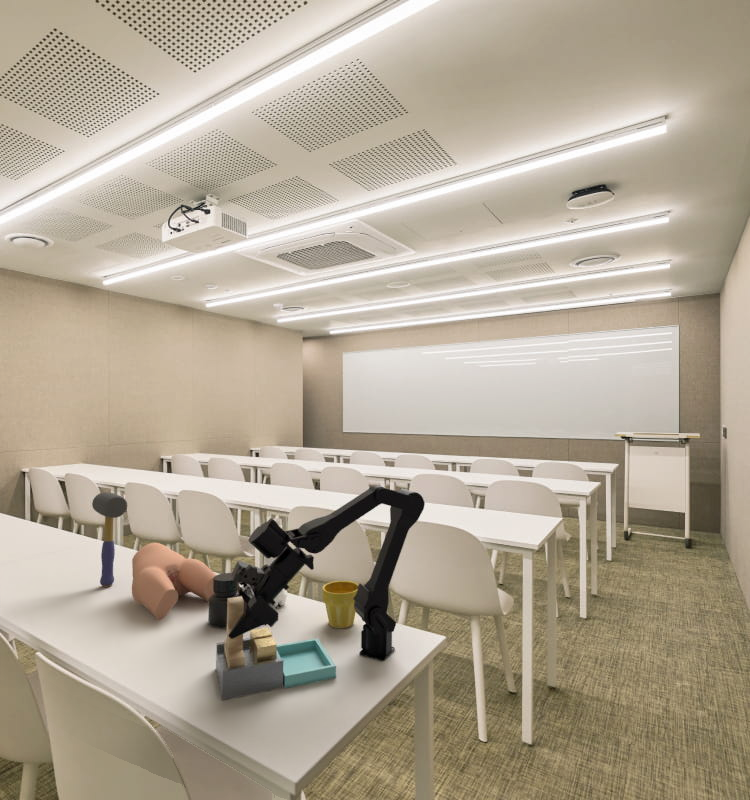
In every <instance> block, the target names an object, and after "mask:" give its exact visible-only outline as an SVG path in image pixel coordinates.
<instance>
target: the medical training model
mask: <svg viewBox="0 0 750 800" xmlns="http://www.w3.org/2000/svg"><path fill="white" fill-rule="evenodd" d="M131 562H132V563H131V564H132V567H131V568H132V583H131V596H132V598H133V600H134V601H135V602H136V603H137V604H139V605H142V606H144V607H145V608H146V609H147V610H148V611H149V612H150V613H152V615H154V616H155V618H156V619H157V620H162V619H164V618H165V617H166V616H167V615H168V614H169V613H170V611H171V610H172V609H173V608H174V606H175V605H176V604H177V602H178V599H179V596H180V597H181V595H182V596H184V595H186V594H188V593H191V594H194V595H195V596H198V597H199V598H201V599H203V600H204V601H206V602H208V603H209V598H210V597H211V596H212V595H213V593H214V592H213V578H214V577H215V576H216V575H217V574H216V573H214V572H213V570H211V569H210V567H208V566H207V565H206V564H205V563H204V562H202V561H201V560H199V559H195V558H189V557H188V558H185V557H184V556H183V555H182V554H180V553H179V552H177V551H174V550H172V549H171V548H169V547H168V546H166V545H164V544H162V543H159V542H151V543H148V544H145V545H143V546H142V547H141V548H140V549H139V550H138V551H136V553H135V554H134V555H133V557H132V559H131Z"/></svg>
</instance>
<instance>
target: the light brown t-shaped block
mask: <svg viewBox="0 0 750 800" xmlns="http://www.w3.org/2000/svg"><path fill="white" fill-rule="evenodd" d="M243 613H244V600H243V598H242V596H241V597H233V598H227V627H226V639H224V642H225V647H224V651H225V656H226V660H227V664H228V668H232V667H237V666H243V665H245V655H244V652H243V639H244V634H242V635H240V636H237V637H235V638H233V639H231V638H230V637H229V636H228V635H229V633H230V632H231V630H232V629H233V627H234V626H235V624H236V623H237V622H238V620H239V619H240V617H241V616H242V615H243Z"/></svg>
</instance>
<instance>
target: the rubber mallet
mask: <svg viewBox="0 0 750 800" xmlns="http://www.w3.org/2000/svg"><path fill="white" fill-rule="evenodd" d="M91 503H92V508H93V510H94V511H95V512H96V513H98V514H99V515H102V516H104V535H103V537H104V538H103V543H102V547H101V557H100V558H101V576H100V580H99V584H100V585H101V586H102V587H103V588H108V587H111V586H113V584H114V582H115V577H114V562H115V561H114V560H115V556H116V555H115V554H116V553H115V551H116V550H115V542H114V522H115V521H114V519H115V518H119V517H121V516H124V514H125V513H126V511H127V509H128V502H127V500H126V498H124V497H123V496H121V495H119V494H116V493H113V492H106V491H104V492H99V493H98V494H97V495H96V496H94V498H93V500H92V502H91Z"/></svg>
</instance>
